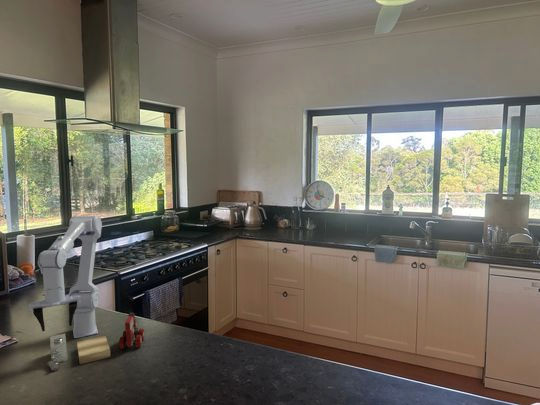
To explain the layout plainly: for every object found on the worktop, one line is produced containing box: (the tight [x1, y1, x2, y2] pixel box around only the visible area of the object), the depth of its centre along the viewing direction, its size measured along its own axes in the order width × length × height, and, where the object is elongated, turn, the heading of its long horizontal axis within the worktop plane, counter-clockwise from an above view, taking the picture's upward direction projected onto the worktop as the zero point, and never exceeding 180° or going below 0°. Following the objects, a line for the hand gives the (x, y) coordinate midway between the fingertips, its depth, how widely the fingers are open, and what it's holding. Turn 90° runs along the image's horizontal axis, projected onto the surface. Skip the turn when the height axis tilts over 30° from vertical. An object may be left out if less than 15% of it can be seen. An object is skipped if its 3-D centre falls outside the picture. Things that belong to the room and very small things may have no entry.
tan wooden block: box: [76, 335, 111, 365], centre depth 128 cm, size 12×9×2 cm
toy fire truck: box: [118, 312, 145, 350], centre depth 134 cm, size 7×12×10 cm, turn 10°
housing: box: [49, 333, 68, 364], centre depth 126 cm, size 8×4×7 cm, turn 30°
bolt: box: [46, 360, 61, 372], centre depth 119 cm, size 5×2×2 cm, turn 50°
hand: (57, 327), depth 125 cm, fingers open, 7 cm apart
